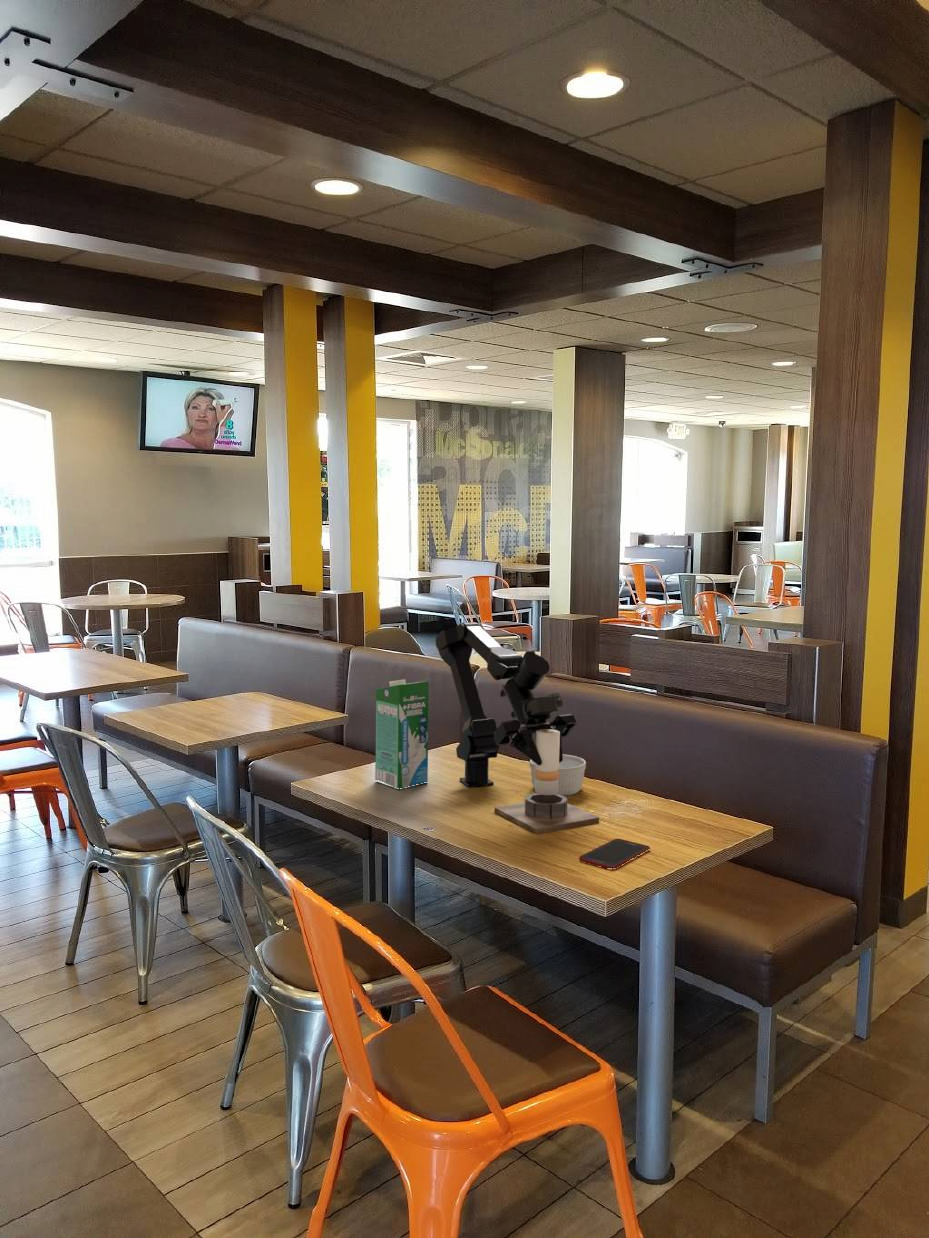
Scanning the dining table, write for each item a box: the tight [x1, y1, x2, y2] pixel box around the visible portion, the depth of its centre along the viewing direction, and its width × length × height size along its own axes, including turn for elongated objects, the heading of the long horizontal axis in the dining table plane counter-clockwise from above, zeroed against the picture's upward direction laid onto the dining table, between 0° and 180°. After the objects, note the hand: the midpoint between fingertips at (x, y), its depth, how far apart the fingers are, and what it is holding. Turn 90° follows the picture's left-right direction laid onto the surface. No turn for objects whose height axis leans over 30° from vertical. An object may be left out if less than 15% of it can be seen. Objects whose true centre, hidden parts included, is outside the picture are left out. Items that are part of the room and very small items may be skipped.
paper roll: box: [534, 729, 560, 795], centre depth 199 cm, size 5×5×13 cm
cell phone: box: [578, 838, 651, 869], centre depth 178 cm, size 8×15×1 cm, turn 141°
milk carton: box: [374, 678, 430, 789], centre depth 224 cm, size 9×9×25 cm
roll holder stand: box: [494, 792, 600, 835], centre depth 200 cm, size 16×16×4 cm
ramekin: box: [529, 753, 587, 796], centre depth 221 cm, size 13×13×7 cm
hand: (550, 762), depth 198 cm, fingers closed on paper roll, 5 cm apart
